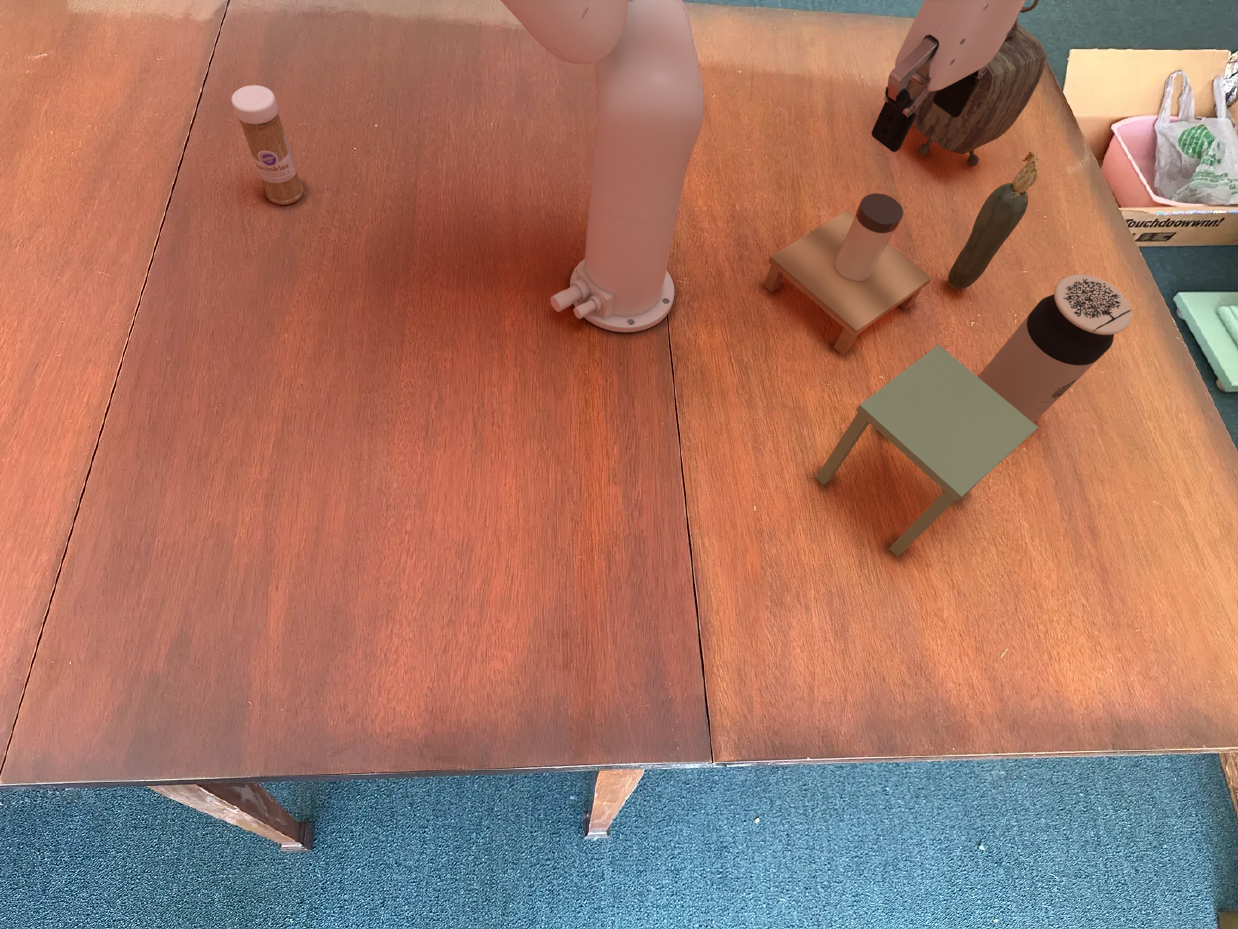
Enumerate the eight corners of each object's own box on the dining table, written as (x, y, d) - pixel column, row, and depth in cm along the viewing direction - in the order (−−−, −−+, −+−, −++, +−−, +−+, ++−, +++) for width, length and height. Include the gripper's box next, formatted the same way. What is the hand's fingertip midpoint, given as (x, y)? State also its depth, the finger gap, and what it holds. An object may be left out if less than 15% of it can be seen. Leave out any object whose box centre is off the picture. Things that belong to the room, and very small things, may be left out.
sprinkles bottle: (270, 209, 96) (233, 112, 84) (263, 184, 98) (226, 86, 86) (308, 201, 97) (277, 105, 85) (300, 177, 99) (269, 80, 87)
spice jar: (854, 288, 91) (884, 229, 83) (825, 263, 93) (851, 203, 85) (880, 270, 93) (912, 212, 85) (851, 246, 95) (879, 187, 87)
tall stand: (897, 560, 80) (961, 496, 67) (812, 478, 83) (859, 404, 71) (966, 497, 84) (1038, 427, 72) (883, 422, 88) (938, 344, 76)
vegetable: (967, 306, 98) (1058, 177, 81) (933, 299, 98) (1017, 168, 81) (966, 281, 101) (1055, 150, 83) (933, 273, 101) (1015, 141, 83)
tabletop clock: (987, 169, 112) (1094, -7, 91) (945, 190, 109) (1045, 12, 88) (917, 112, 118) (1002, -68, 96) (874, 130, 115) (953, -52, 93)
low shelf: (842, 358, 92) (857, 330, 88) (759, 285, 97) (770, 256, 93) (915, 305, 98) (932, 277, 93) (833, 239, 102) (846, 209, 98)
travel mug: (952, 389, 91) (1037, 282, 76) (1004, 371, 93) (1098, 263, 78) (992, 444, 88) (1090, 343, 72) (1046, 424, 90) (1152, 322, 75)
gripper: (1032, -109, 66) (939, 77, 81) (907, -59, 59) (830, 134, 74) (1106, -67, 64) (996, 117, 79) (984, -9, 57) (888, 180, 72)
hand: (915, 125), depth 76 cm, fingers open, 9 cm apart
